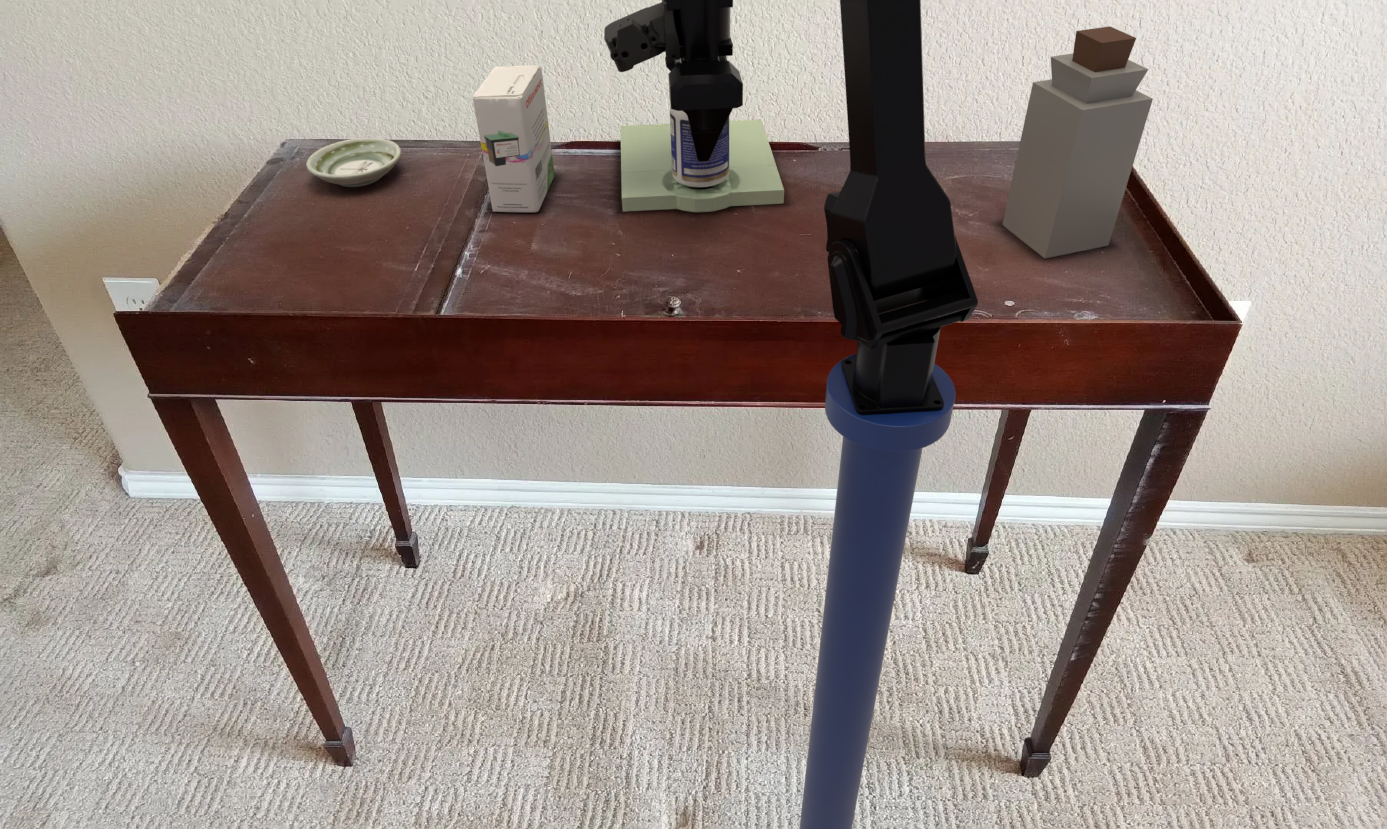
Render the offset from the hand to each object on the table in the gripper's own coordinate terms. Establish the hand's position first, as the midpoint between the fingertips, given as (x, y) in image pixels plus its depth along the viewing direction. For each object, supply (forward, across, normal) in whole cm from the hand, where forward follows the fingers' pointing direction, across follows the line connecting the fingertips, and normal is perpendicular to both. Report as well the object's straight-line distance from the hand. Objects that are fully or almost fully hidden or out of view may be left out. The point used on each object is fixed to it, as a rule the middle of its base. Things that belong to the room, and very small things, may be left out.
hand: (700, 147), depth 90 cm
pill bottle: (+3, 0, 0) cm, 3 cm away
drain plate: (+5, -6, 0) cm, 8 cm away
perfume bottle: (+5, +12, +32) cm, 35 cm away
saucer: (+5, -8, -36) cm, 37 cm away
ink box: (+5, -2, -18) cm, 19 cm away
